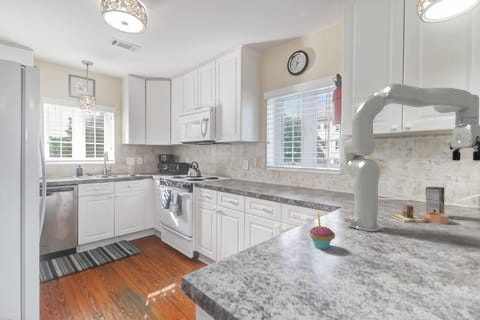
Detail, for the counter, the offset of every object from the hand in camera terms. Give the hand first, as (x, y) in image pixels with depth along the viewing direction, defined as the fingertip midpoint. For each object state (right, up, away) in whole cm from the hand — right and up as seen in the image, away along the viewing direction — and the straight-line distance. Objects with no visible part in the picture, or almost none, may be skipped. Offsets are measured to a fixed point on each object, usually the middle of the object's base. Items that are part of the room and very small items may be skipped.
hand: (466, 160), depth 102 cm
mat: (-16, -31, +14) cm, 38 cm away
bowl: (-4, -31, +11) cm, 33 cm away
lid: (-16, -31, +14) cm, 37 cm away
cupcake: (-74, -31, -22) cm, 83 cm away
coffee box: (+6, -31, +24) cm, 40 cm away
